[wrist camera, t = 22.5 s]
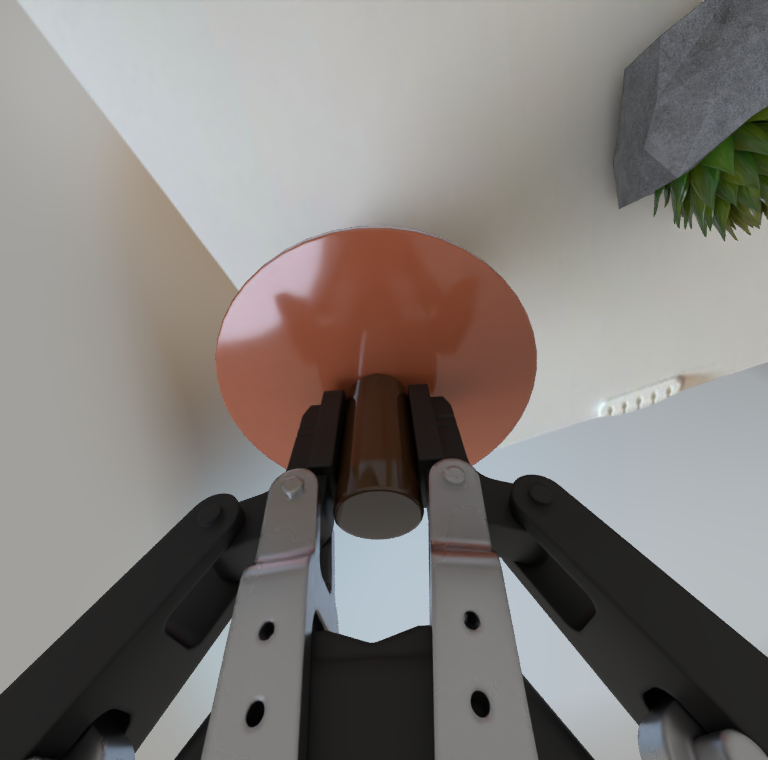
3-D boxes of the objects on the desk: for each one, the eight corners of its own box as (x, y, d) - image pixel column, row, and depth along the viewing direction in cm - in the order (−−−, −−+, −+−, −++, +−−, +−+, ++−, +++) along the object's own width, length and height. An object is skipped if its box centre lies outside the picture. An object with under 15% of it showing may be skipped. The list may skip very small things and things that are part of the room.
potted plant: (888, -128, 17) (903, 157, 20) (609, 81, 27) (654, 243, 31) (954, -233, 10) (957, 205, 14) (559, 92, 21) (623, 292, 25)
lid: (276, 481, 17) (233, 616, 12) (168, 239, 10) (-54, 319, 5) (502, 466, 16) (557, 599, 11) (559, 204, 9) (769, 250, 4)
